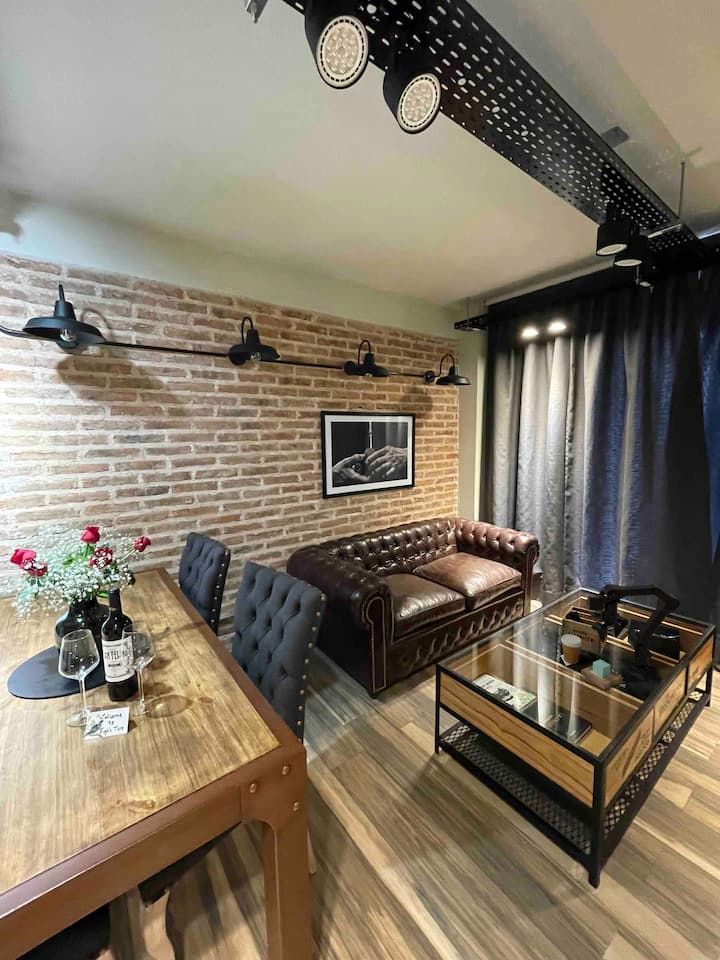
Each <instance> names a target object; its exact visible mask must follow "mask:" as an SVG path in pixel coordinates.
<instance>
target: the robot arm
mask: <svg viewBox="0 0 720 960" xmlns="http://www.w3.org/2000/svg"><path fill="white" fill-rule="evenodd" d="M637 596H639V597H640V596H641V597H643V596H656V597H657V598H658V599H657V601H656V608H655V609H654V610H653V612H652V613H651V615H649V617H648V618H647V620H646V621H645V623H644V624H643V625H642V627H641V628H640V629H639V630H638V631H634V630H632V631H631V633H630V635H628V638H627V639H628V640H627V641H628V643H629V645H630V646H631V648H632V649H633V650H634V652H633V658H632V660H630V663H631V664H633V665H635V666H636V667H638V668H640V669H642V670H645V669H647V668H650V667H652V666H653V664H651V663H650V661H649V660H650V659H652V657H653V652H651V651H650V649H649V647H650V640H651V638H652V636H653V635H654V633H655V632H656V630H657V629H658V628H659V627H660V625H661V624H662V622H663V621H664V620H665V619H666V617H667V616H668V615H670V614H672V613H675V612H676V611H677V610H678V609H680V607H681V602H680V600H679V599H678V598H677V597H676V596H674V594H672V593H670V592H666V591H664V590H663V589H661V588H660V587H659V586H658V585H656V584H654V583H651V584H650V583H649V584H643V585H627V586H626V585H619V584H614V583H613V584H612V583H611V584H610V583H607V584H605V585H604V586H603V588H602V590H601V591H599V592H598V594H597V596H591V595H589V596H587V598H586V600H585V607H586V609H587V611H590V618H591V619H594V620H599V621H596V622H593V623H591V627H590V628H591V630H594V631H595V632H597V634H598V636H599V638H600V641H601V643H605V642H606V639H607V637H608V635H609V632H608V631H609V628H610V627H613V635H614V638H616V639H617V638H618V637H619V636H620V634H621V633H622V632H624V629H625V628H627V626H628V625H629V620H628V618H626V617H623V616H622V615H620V613H619V612H618V611H619V610H618V605H619V604H621V605H622V604H624V602H623V601H622V599H624V598H626V597H637ZM602 622H603V623H602Z"/></svg>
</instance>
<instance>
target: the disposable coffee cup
mask: <svg viewBox="0 0 720 960" xmlns="http://www.w3.org/2000/svg"><path fill="white" fill-rule="evenodd" d="M560 642H561V643H562V644H561V645H562V653H563V655H562V656H563V661H565V663H567V662H568V663H567V664H569V663H571V664H570V665H576V663H577V664H578V663H579V658H580V653H581V647H582V645H583V641H582V639H581V638H580V637H579V636H577V635H574V634H572V633H571V634H569V633H567V634H563V635H562V636H561V638H560Z"/></svg>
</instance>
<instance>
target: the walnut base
mask: <svg viewBox="0 0 720 960" xmlns="http://www.w3.org/2000/svg"><path fill="white" fill-rule="evenodd" d="M580 675H581V676H582V677H584V678H586V679H587V680H588V679H589V680H588V681H590V682H591V681H592V684H595V685H596V686H598V687H599V688H601V689H602V690H604V691H605V690H607V689H610V688H612V687H614V686H617V685H619V684H621V683H623V678H624V677H623V676H621V675H620V674H618V673H617V672H615V671H613V670H612V669H610V675H609V676H606V677H604V678H602V677H600V676H599V675H597V674H595V673H594V672H593V664H592V665H589V666H588V667H585V668H582V669H581V670H580ZM620 682H621V683H620ZM618 683H619V684H618ZM616 684H617V685H616ZM611 686H612V687H611ZM609 687H610V688H609Z"/></svg>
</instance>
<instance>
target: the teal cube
mask: <svg viewBox="0 0 720 960" xmlns="http://www.w3.org/2000/svg"><path fill="white" fill-rule="evenodd" d="M592 665H593V672H594V673H595V674H597V675H599V676H600V677H602V678H604V677H606V676H609V675H610V670H611V667H612V666H611V664H609V663H608V662H606V661H604V660H602V659H597V660H596V661H592Z"/></svg>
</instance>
